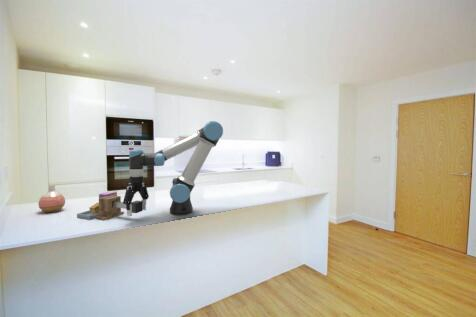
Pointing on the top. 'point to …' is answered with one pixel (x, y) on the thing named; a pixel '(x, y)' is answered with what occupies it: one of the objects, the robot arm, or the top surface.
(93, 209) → the spacer
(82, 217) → the tray
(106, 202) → the bearing block
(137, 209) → the shaft
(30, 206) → the top surface
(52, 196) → the vase
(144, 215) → the top surface
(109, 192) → the box
